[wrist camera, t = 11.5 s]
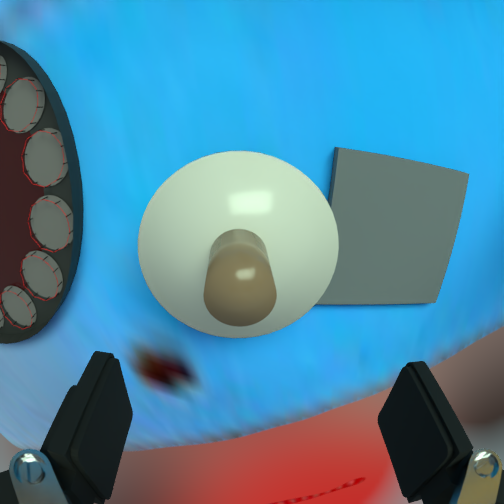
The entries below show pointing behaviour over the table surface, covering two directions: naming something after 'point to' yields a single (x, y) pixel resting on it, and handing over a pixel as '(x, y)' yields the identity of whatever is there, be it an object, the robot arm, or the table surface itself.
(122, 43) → the table surface
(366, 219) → the mat
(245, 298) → the lid
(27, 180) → the palette wheel
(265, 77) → the table surface
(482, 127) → the table surface
